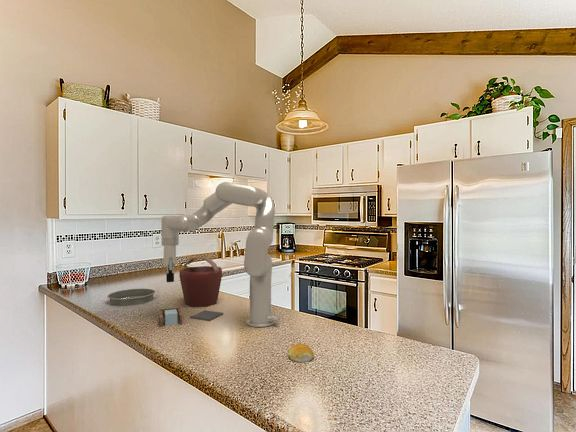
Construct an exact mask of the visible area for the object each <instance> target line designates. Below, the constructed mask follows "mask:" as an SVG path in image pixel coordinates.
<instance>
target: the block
mask: <svg viewBox="0 0 576 432" xmlns="http://www.w3.org/2000/svg"><path fill="white" fill-rule="evenodd" d="M175 325H178V316H177V310H176V309H173V310H165V317H164V326H166V327H167V326H175Z"/></svg>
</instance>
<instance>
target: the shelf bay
mask: <svg viewBox="0 0 576 432" xmlns="http://www.w3.org/2000/svg"><path fill="white" fill-rule="evenodd" d="M173 309H176V310H177V320H178V322H179V325H183V314H182V311H181V307H173V308H163V309H159V326H160V327H161V328H163V327H164V318H165V310H173Z"/></svg>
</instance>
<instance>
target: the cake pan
mask: <svg viewBox="0 0 576 432" xmlns="http://www.w3.org/2000/svg"><path fill="white" fill-rule="evenodd" d="M155 294H156V290H155V289H153V288H130V289H122V290H118V291H117V290H116V291H114V292H112V293H109V294H107V296H106V297H107V299H109V302H110V304H111V305H112V304H113V306H117V307H120V306H121V307H124V306H125V307H129V305H130V306H136V305H142V304H143V305H144V304H147V303H149V302H151V301H152V300H153V299H154V295H155ZM126 297H127V298H126ZM128 297H129V298H128ZM121 298H122V299H121ZM123 298H126V299H123Z"/></svg>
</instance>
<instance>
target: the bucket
mask: <svg viewBox="0 0 576 432" xmlns="http://www.w3.org/2000/svg"><path fill="white" fill-rule="evenodd" d="M197 259H201V260H204V261H205V262H207V263H208V264H209V265H210V266H209V265H204V266H191V267H188V266H187V265H190V264H192V263H193V261H195V260H197ZM178 273H179V275H178V276H179V281H180V286H181V290H182V294H183V295H182V296H183V300H184V304H185V305H186V306H187V307H189V308H208V307H211V305H212V306H216V305H217V304H218V299H219V294H220V288H221V283H222V277H223V269H222V267H221V266H218V265H217V263H216V262H214V260H212V259H211V258H209V257H204V256H198V257H193V258H190V259H189V260H187V261H186V262H185V263H184V264H183V269H179V271H178Z"/></svg>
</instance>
